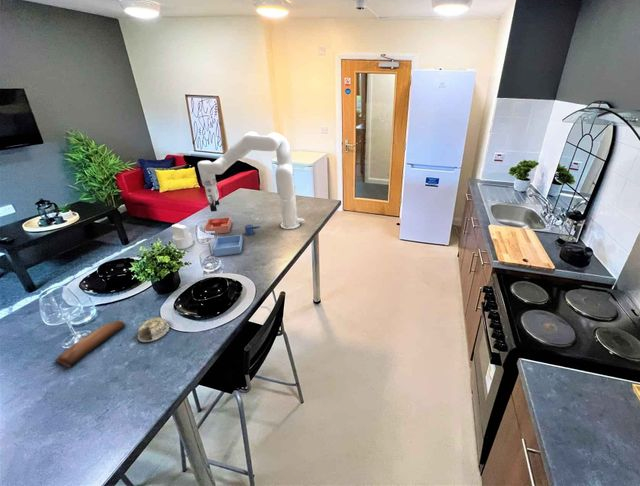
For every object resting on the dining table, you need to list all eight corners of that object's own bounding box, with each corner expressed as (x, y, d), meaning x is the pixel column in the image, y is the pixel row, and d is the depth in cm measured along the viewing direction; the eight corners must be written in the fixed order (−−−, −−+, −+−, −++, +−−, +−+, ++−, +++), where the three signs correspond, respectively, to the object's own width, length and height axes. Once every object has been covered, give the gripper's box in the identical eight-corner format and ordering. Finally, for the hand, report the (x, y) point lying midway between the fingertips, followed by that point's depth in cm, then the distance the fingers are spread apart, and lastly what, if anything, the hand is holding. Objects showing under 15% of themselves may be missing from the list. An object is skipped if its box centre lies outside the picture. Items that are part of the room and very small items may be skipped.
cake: (152, 322, 114) (149, 310, 112) (176, 324, 113) (173, 313, 111) (130, 341, 104) (127, 329, 103) (156, 344, 104) (153, 332, 102)
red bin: (231, 223, 191) (230, 216, 189) (229, 232, 180) (227, 225, 178) (209, 225, 188) (208, 219, 186) (205, 234, 176) (204, 228, 174)
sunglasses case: (109, 321, 112) (110, 312, 109) (124, 331, 112) (126, 322, 109) (53, 361, 96) (53, 351, 93) (70, 372, 96) (71, 363, 93)
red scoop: (228, 225, 187) (227, 218, 185) (227, 228, 183) (226, 221, 181) (214, 227, 185) (212, 220, 183) (213, 230, 181) (211, 223, 179)
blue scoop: (260, 230, 183) (259, 223, 181) (260, 233, 179) (259, 226, 177) (246, 231, 181) (245, 224, 179) (245, 235, 177) (244, 228, 175)
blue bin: (242, 241, 170) (241, 234, 168) (240, 253, 159) (239, 246, 157) (218, 244, 167) (216, 237, 165) (214, 256, 155) (213, 249, 153)
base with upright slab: (171, 246, 163) (165, 228, 158) (185, 239, 171) (180, 221, 166) (183, 250, 160) (178, 231, 155) (197, 242, 168) (192, 224, 163)
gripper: (213, 185, 164) (220, 212, 171) (218, 176, 179) (224, 202, 186) (199, 187, 162) (206, 214, 169) (205, 177, 177) (211, 203, 184)
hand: (215, 208), depth 178 cm, fingers open, 9 cm apart
